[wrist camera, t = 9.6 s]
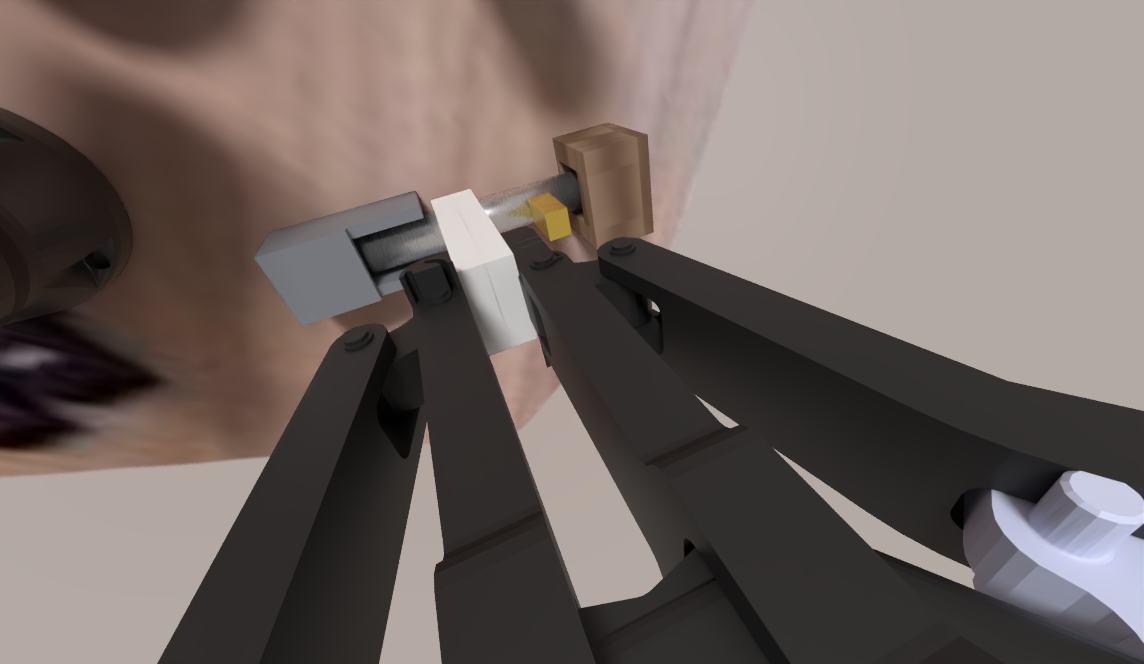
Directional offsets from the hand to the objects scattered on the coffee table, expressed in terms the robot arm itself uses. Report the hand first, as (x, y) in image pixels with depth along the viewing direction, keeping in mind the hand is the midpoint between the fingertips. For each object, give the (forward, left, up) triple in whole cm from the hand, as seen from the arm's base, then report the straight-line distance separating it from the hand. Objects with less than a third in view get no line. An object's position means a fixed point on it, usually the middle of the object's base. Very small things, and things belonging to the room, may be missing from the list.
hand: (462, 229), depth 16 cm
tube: (+3, -8, -26) cm, 28 cm away
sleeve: (-8, -8, -26) cm, 29 cm away
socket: (+14, -8, -26) cm, 31 cm away
